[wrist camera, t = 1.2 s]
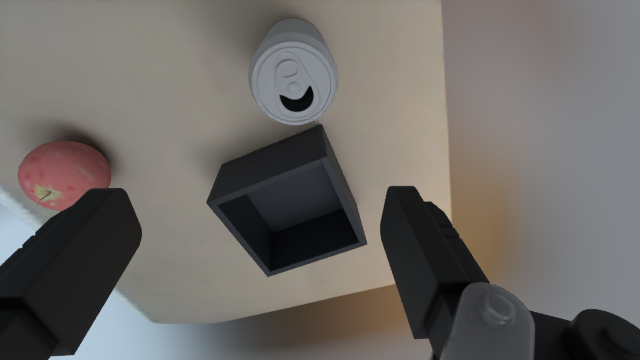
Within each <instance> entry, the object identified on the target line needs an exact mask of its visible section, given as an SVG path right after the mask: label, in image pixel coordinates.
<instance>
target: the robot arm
mask: <svg viewBox="0 0 640 360" xmlns="http://www.w3.org/2000/svg"><path fill="white" fill-rule="evenodd" d="M35 233H36V234H35V236H31V237H30V238H29V239H28V240H27V241H26V242H25V243H24V244H23V247H22V248H19V249H18V250H17V251H15V253H13V254H12V255H11V256H10V257H9V258H8V259H7V260H6V261H5V262H4V263H3V264H2V265H1V266H0V360H48V359H49V358H50V356H65V355H74V354H75V352H76V351H77V349H78V347H79V346H80V344H81V342H82V341H83V339H84V337H85V336H86V334H87V332H88V331H89V329H90V327H91V326H92V324H93V322H94V321H95V319H96V317H97V316H98V314H99V312H100V311H101V309H102V307H103V306H104V304H105V302H106V301H107V299H108V297H109V295H110V294H111V292H112V290H113V289H114V287H115V285H116V284H117V282H118V280H119V279H120V277H121V275H122V274H123V272H124V270H125V269H126V267H127V265H128V264H129V262H130V260H131V259H132V257H133V255H134V254H135V252H136V250H137V249H138V247H139V245H140V242H141V238H142V229H141V225H140V223H139V221H138V218H137V216H136V213H135V211H134V209H133V206H132V204H131V202H130V199H129V197H128V195H127V193H126V191H125V190H124V189H122V188H92V189H89V190H88V191H87V192H86V193H85V194H84V195H83V196H82V197H81V198H79V199H78V200H77V201H76V202H75V203H74V204H73V205H72V206H70V207H68V208H66V209H65V210H63V211H61V212H60V213H58V214H56V215H55V216H53V217H51V218H50V219H49V220H48V221H47V222H46V223H45V224H44V225H43V226H42V227H41V228H40V229H38V230H37V231H36V232H35ZM380 234H381V240H382V243H383V246H384V249H385V252H386V255H387V258H388V261H389V264H390V267H391V270H392V273H393V276H394V279H395V282H396V285H397V289H398V291H399V295H400V297H401V301H402V303H403V307H404V309H405V313H406V316H407V319H408V321H409V325H410V328H411V331H412V334H413V337H414V339H426V338H429V341H430V344H431V346H432V349H433V351H432V353H431V355H430V359H429V360H640V329H639V328H637V327H636V326H634V325H633V324H631V323H630V322H628V321H627V320H625V319H623V318H621V317H619V316H617V315H614V314H612V313H609V312H606V311H602V310H598V309H587V310H584V311H582V312H580V313H579V314H578V315H577V316H576V317H575V318H574V319H573V320H572V321H568V320H565V319H561V318H557V317H553V316H549V315H545V314H541V313H537V312H533V311H530V310H528V309H527V307H526V306H525V305H524V304H523V303H522V302H521V301H520V300H519V299H518V298H517V297H516V296H514V295H513V294H512V293H510V292H509V291H507V290H505V289H503V288H501V287H499V286H496V285H493V284H490V282H489V281H488V279H487V278H486V276H485V275H484V273H483V271H482V270H481V268H480V267H479V266H478V264H477V262H476V261H475V259H474V258H473V256H472V254H471V253H470V251H469V250H468V248H467V247H466V245H465V244H464V242H463V241H462V239H460V238H459V234H458V233H457V231H456V230H455V228H453V227H452V224H451V222H450V220H449V219H448V217H447V216H446V214H445V213H444V212H443V211H442V210H441V209H440V208H438V207H437V206H436V205H435V204H433V203H432V202H424V201H423V199H422V197H421V196H420V194H419V192H418V191H417V189H416V188H415V187H414V186H390V187H389V188H388V190H387V194H386V199H385V204H384V208H383V213H382V218H381V224H380Z"/></svg>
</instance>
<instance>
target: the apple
mask: <svg viewBox="0 0 640 360" xmlns="http://www.w3.org/2000/svg"><path fill="white" fill-rule="evenodd" d="M18 180H19V184H20V186H21V188H22V190H23V191H24V192H25V194H26V195H27V196H28V197H29V198H30V199H31V200H33V201H34V202H36V203H37V204H39V205H41V206H44V207H46V208H50V209H53V210H58V211H63V210H65V209H66V208H68V207H70V206H72V205H73V204H74V203H75V202H76V201H77V200H78V199H79V198H81V197H82V196H83V195H84V194H85V193H86V192H87V191H88V190H89V189H92V188H108V187H109V185H110V182H111V171H110V168H109V164H108V162H107V161H106V159H105V158H104V156H103V155H102V154H101V153H100V152H99V151H98V150H96V149H94V148H93V147H91V146H88V145H86V144H83V143H78V142H72V141H55V142H50V143H46V144H43V145H40V146H39V147H37V148H36V149H34V150H33V151H32V152H30V153H29V154H28V155H27V156H26V157H25V158H24V160H23V161H22V163H21V164H20V166H19V170H18Z"/></svg>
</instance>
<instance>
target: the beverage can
mask: <svg viewBox="0 0 640 360" xmlns="http://www.w3.org/2000/svg"><path fill="white" fill-rule="evenodd" d="M249 85H250V89H251V92H252V95H253V97H254V99H255V101H256V102H257V104H258V105H259V106H260V108H261V109H262V110H263V111H264V112H265V113H266V114H267V115H268V116H269V117H271V118H272V119H274V120H275V121H278V122H280V123H283V124H288V125H302V124H306V123H309V122H311V121H313V120H315V119H317V118H318V117H320V116H321V115H322V114H323V113H324V112H325V111H326V109H327V108H328V107H329V106H330V104H331V103H332V101H333V99H334V97H335V94H336V91H337V86H338V73H337V67H336V64H335V61H334V59H333V57H332V55H331V53H330V51H329V49H328V47H327V45H326V43H325V41H324V39H323V37H322V35H321V34H320V32H319V31H318V30H317V29H316V28H315V27H314V26H313V25H312V24H310V23H309V22H307V21H305V20H302V19H297V18H289V19H284V20H282V21H280V22H278V23H276V24H275V25H274V26H273V27H272V28H271V29H270V30H269V31H268V33H267V34H266V36H265V38H264V39H263V41H262V42H261V44H260V46H259V47H258V49H257V51H256V52H255V54H254V56H253V58H252V61H251V64H250V68H249Z"/></svg>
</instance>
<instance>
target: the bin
mask: <svg viewBox="0 0 640 360" xmlns="http://www.w3.org/2000/svg"><path fill="white" fill-rule="evenodd" d="M206 203H207V204H208V206H209V207H210V208H211V209H212V210H213V212H214V213H215V214H216V215H217V216H218V218H219V219H220V220H221V221H222V222H223V224H224V225H225V226H226V227H227V228H228V230H229V231H230V232H231V233H232V234H233V236H234V237H235V238H236V239H237V241H238V242H239V243H240V244H241V245H242V247H243V248H244V249H245V250H246V251H247V253H248V254H249V255H250V256H251V257H252V259H253V260H254V261H255V262H256V263H257V265H258V266H259V267H260V268H261V269H262V271H263V272H264V273H265V274H266V275H267V277H269V276H272V275H276V274H279V273H282V272H285V271H288V270H291V269H294V268H297V267H300V266H303V265H306V264H309V263H312V262H315V261H318V260H321V259H325V258H328V257H331V256H334V255H337V254H340V253H343V252H346V251H349V250H352V249H355V248H358V247H361V246H364V245H367V241H366V237H365V233H364V230H363V226H362V222H361V219H360V215H359V212H358V208H357V204H356V202H355V200H354V198H353V195H352V193H351V191H350V188H349V186H348V184H347V181H346V179H345V177H344V175H343V172H342V170H341V168H340V165H339V163H338V161H337V158H336V156H335V154H334V152H333V149H332V147H331V145H330V142H329V140H328V138H327V135H326V133H325V131H324V129H323V126H322V124H321V125H319V126H316V127H314V128H311V129H309V130H306V131H304V132H301V133H299V134H296V135H294V136H292V137H289V138H287V139H284V140H282V141H279V142H277V143H274V144H272V145H269V146H267V147H265V148H262V149H260V150H257V151H255V152H252V153H250V154H247V155H245V156H242V157H240V158H238V159H235V160H233V161H230V162H228V163H225V164H223V165H221V168H220V170H219V173H218V175H217V177H216V180H215V182H214V185H213V187H212V190H211V192H210V195H209V197H208V199H207V202H206Z"/></svg>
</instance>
